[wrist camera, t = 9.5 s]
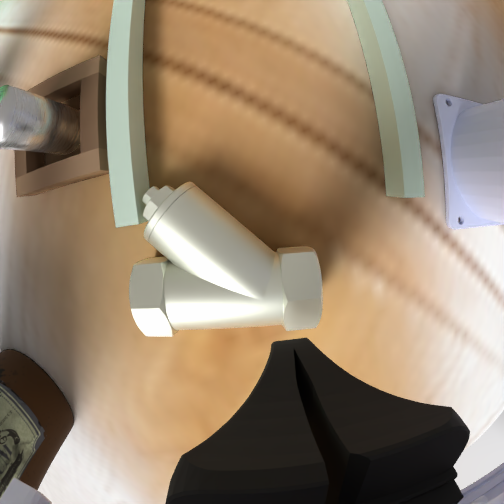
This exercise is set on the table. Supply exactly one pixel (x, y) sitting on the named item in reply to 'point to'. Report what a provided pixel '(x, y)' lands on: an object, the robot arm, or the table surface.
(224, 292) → the pipe fitting
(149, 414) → the table surface
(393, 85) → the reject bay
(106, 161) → the tan square frame
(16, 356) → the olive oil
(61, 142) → the pin
